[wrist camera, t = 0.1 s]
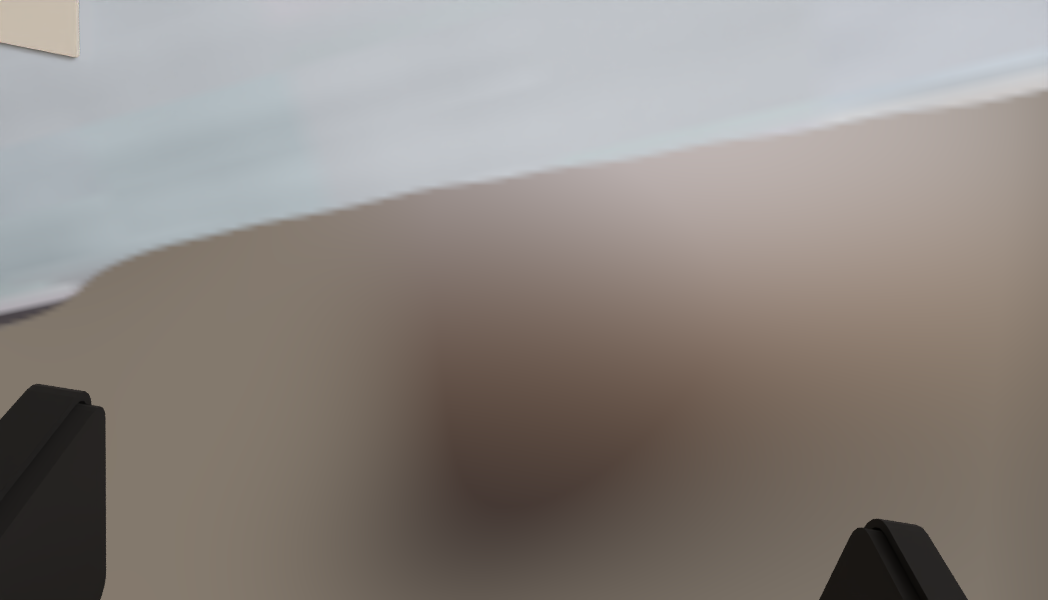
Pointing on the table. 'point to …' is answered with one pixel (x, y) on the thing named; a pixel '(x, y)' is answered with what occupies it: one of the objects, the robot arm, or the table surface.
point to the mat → (41, 25)
